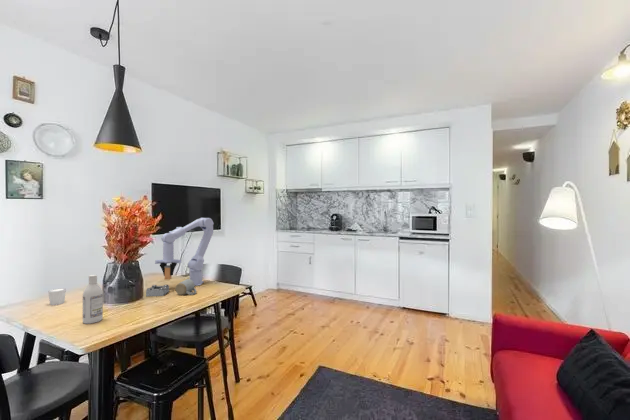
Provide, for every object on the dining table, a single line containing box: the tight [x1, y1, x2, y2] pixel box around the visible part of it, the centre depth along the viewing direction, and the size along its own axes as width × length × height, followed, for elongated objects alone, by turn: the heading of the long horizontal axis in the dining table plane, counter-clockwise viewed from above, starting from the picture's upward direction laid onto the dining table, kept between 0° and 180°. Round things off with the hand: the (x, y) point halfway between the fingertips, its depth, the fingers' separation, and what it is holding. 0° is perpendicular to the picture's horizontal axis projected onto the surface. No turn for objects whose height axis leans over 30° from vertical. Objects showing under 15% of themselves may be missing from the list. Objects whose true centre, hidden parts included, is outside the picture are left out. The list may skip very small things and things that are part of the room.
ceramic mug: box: [175, 278, 197, 296], centre depth 168 cm, size 11×8×8 cm
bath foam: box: [82, 274, 104, 325], centre depth 127 cm, size 7×7×20 cm
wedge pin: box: [163, 264, 173, 281], centre depth 177 cm, size 4×4×8 cm
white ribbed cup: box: [48, 287, 67, 306], centre depth 150 cm, size 7×7×7 cm
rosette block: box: [145, 284, 170, 297], centre depth 168 cm, size 9×9×4 cm
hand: (168, 275), depth 177 cm, fingers closed on wedge pin, 3 cm apart
